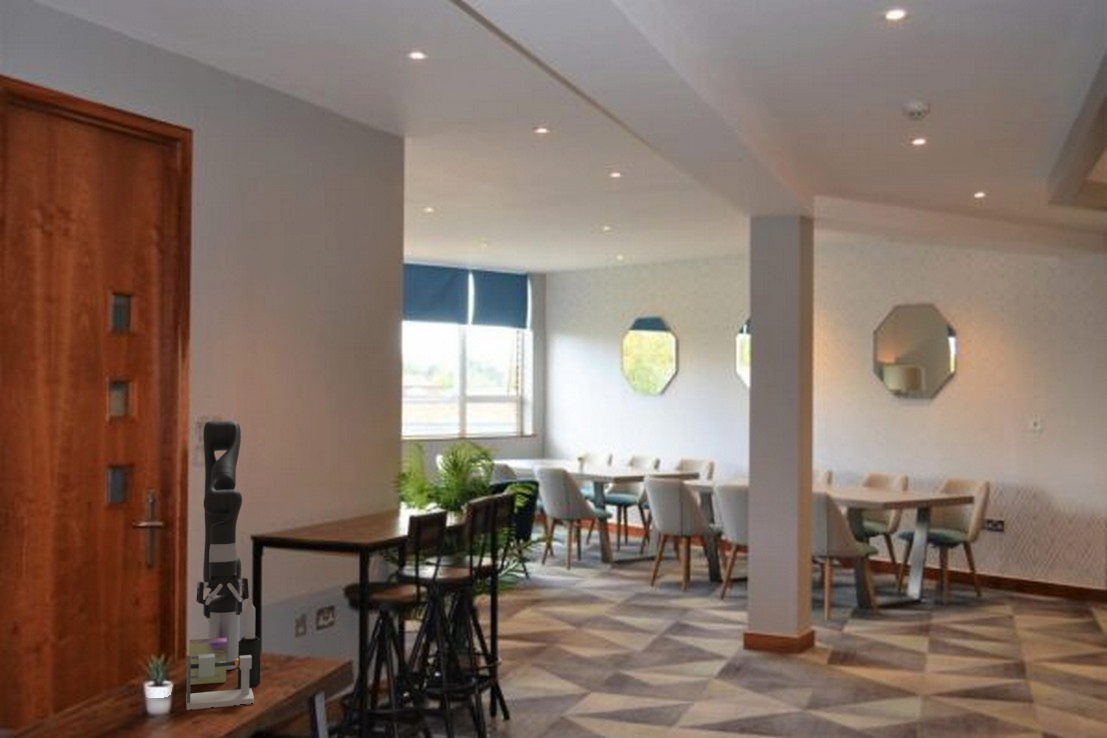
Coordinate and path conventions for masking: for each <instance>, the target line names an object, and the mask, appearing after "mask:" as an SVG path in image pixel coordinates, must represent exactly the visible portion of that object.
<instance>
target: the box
mask: <svg viewBox="0 0 1107 738" xmlns="http://www.w3.org/2000/svg"><path fill="white" fill-rule="evenodd" d="M188 645H189V646H188V656H190V658H191V664H199V655H202V654H214V655H215V662H226V661H227V638H214V639H208V638H199V639H189V644H188ZM226 667H227V666H221V667H215V676H208V677H199V674H198V672H199V668H196V669H191V685H192V686H193V685H206V684H221V683H223V684H224V683H225V684H226V683H227V670H226Z"/></svg>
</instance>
